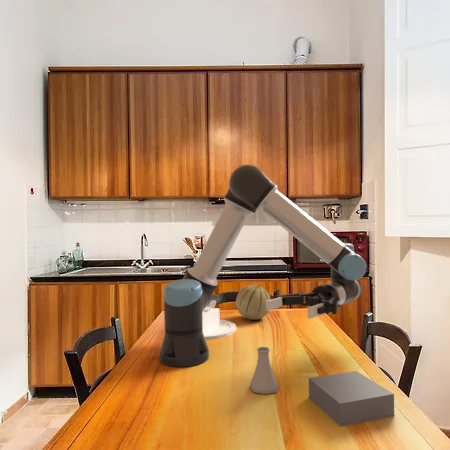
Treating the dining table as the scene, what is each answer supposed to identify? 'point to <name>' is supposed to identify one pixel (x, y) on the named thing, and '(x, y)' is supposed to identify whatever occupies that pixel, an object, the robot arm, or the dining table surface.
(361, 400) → the riser block
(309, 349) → the dining table surface
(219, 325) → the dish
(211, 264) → the robot arm
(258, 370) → the flask
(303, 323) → the dining table surface
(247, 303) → the cantaloupe
